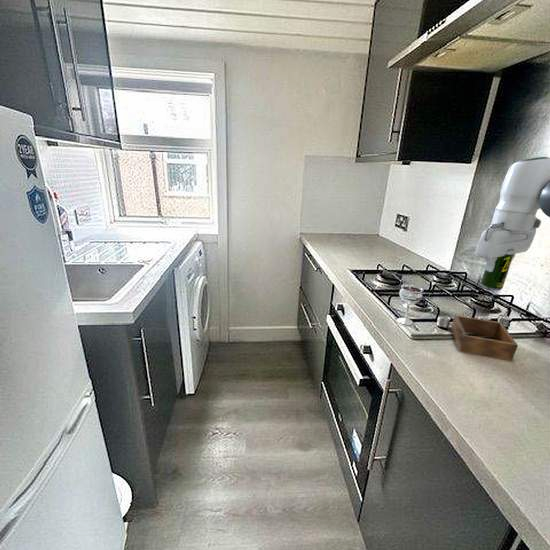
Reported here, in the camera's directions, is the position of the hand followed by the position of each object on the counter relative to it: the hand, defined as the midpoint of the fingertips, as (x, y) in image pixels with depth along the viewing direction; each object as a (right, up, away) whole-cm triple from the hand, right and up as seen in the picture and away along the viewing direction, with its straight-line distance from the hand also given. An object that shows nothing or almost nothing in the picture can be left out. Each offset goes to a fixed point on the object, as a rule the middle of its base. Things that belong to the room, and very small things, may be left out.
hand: (496, 269), depth 86 cm
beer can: (0, -5, +2) cm, 6 cm away
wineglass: (-21, -17, +13) cm, 30 cm away
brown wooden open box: (-4, -22, +2) cm, 22 cm away
